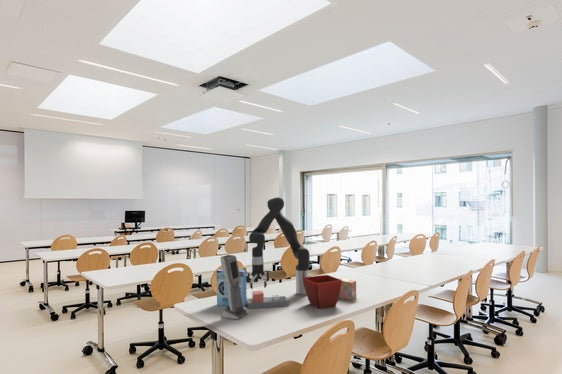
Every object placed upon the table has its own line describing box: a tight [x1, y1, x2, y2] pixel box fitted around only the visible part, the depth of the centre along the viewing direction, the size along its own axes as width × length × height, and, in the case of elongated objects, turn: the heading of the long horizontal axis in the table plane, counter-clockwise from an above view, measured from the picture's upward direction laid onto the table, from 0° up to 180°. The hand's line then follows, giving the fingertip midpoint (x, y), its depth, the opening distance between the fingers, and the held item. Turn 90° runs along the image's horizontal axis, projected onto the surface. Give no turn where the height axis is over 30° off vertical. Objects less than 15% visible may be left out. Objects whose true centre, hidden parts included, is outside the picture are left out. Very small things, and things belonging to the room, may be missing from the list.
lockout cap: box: [251, 290, 265, 302], centre depth 222 cm, size 7×8×5 cm
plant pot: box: [303, 274, 342, 309], centre depth 221 cm, size 19×19×17 cm
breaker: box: [271, 294, 280, 301], centre depth 225 cm, size 4×5×2 cm
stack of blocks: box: [338, 278, 357, 301], centre depth 239 cm, size 21×6×12 cm, turn 50°
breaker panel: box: [246, 295, 289, 309], centre depth 223 cm, size 26×12×4 cm, turn 100°
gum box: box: [216, 268, 248, 308], centre depth 223 cm, size 20×5×23 cm, turn 72°
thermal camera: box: [220, 254, 248, 321], centre depth 203 cm, size 12×13×35 cm
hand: (258, 288), depth 223 cm, fingers open, 8 cm apart
